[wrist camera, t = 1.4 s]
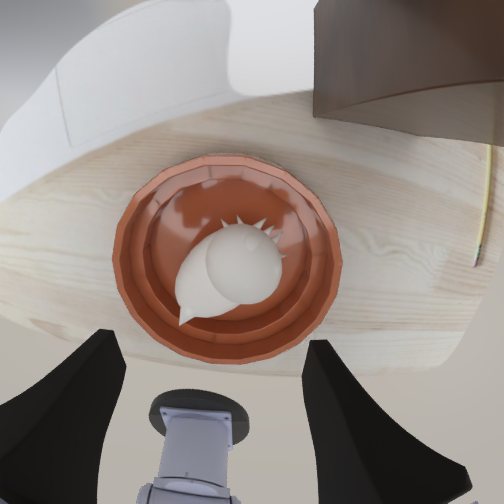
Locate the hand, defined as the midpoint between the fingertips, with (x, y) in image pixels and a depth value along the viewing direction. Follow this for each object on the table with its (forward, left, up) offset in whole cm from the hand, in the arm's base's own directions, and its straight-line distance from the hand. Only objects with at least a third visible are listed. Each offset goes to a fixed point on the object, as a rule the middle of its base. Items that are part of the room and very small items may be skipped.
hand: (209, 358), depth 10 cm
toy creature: (0, 0, -10) cm, 10 cm away
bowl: (0, 0, -10) cm, 10 cm away
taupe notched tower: (+13, -9, -10) cm, 19 cm away
